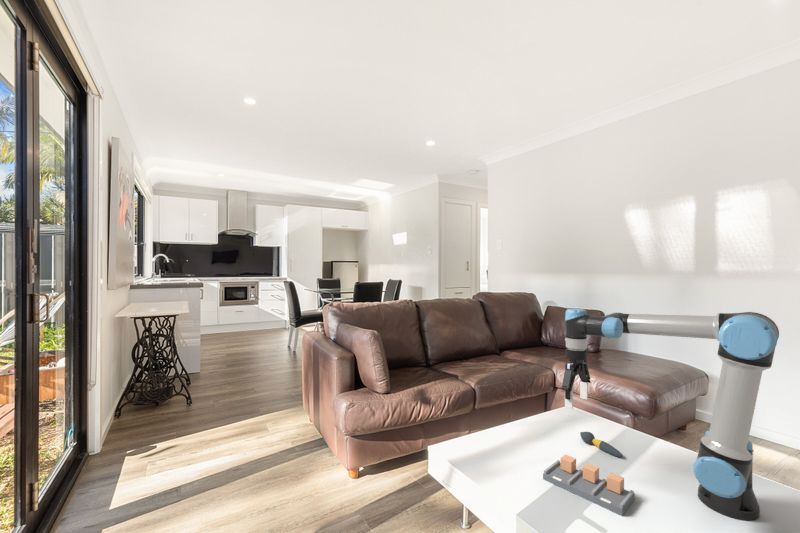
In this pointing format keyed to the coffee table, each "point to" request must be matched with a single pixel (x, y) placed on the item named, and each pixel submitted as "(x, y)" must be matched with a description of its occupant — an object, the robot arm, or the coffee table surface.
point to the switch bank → (589, 488)
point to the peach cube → (590, 473)
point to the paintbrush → (600, 444)
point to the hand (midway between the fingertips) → (576, 402)
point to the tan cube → (568, 463)
